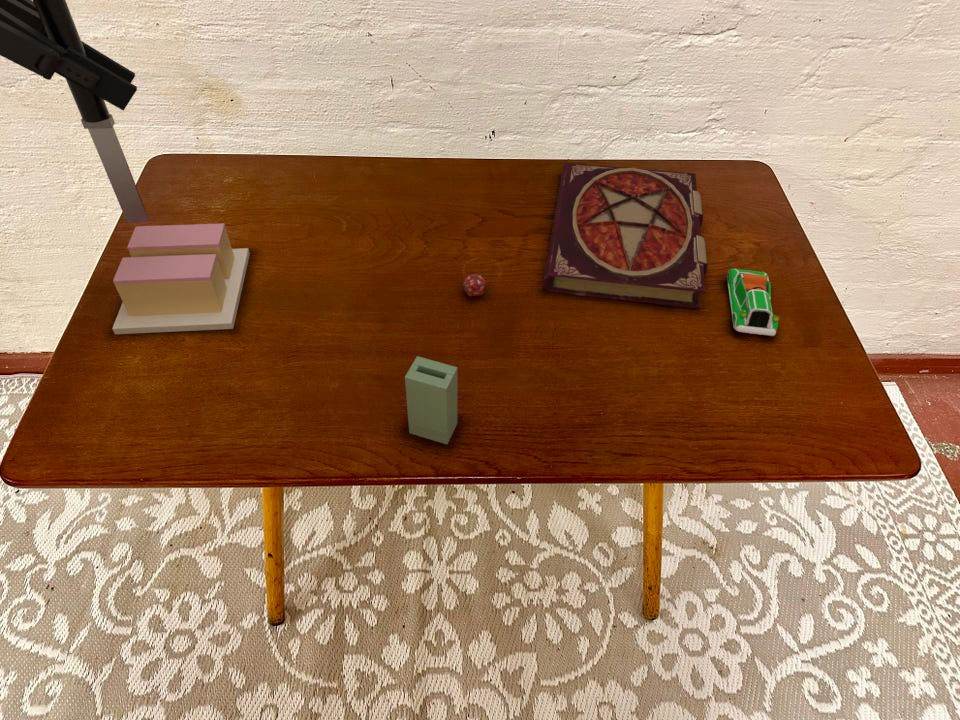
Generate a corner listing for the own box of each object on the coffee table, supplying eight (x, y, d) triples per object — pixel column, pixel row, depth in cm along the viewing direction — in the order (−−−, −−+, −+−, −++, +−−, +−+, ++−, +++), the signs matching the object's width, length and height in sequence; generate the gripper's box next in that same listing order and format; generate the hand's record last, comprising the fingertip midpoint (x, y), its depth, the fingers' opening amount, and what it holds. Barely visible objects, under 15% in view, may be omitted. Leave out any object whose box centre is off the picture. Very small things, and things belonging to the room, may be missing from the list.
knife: (148, 227, 79) (52, -16, 61) (123, 228, 79) (19, -15, 60) (153, 215, 81) (61, -26, 62) (128, 215, 81) (29, -25, 62)
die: (489, 297, 89) (490, 279, 87) (468, 303, 88) (469, 286, 86) (479, 283, 91) (479, 266, 89) (458, 290, 90) (458, 272, 88)
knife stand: (447, 444, 72) (446, 389, 66) (409, 433, 73) (404, 377, 67) (457, 423, 74) (457, 367, 68) (420, 412, 75) (417, 355, 69)
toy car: (774, 343, 84) (786, 317, 81) (731, 338, 85) (742, 312, 82) (762, 282, 92) (772, 256, 89) (723, 277, 93) (732, 252, 90)
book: (561, 180, 110) (564, 152, 106) (695, 192, 107) (703, 163, 104) (542, 294, 91) (544, 264, 87) (705, 312, 88) (714, 282, 84)
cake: (233, 329, 84) (219, 287, 79) (114, 334, 83) (93, 293, 78) (250, 253, 94) (238, 213, 89) (144, 257, 93) (127, 217, 88)
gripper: (-166, -69, 60) (108, 88, 76) (-213, -10, 50) (113, 156, 67) (-133, -147, 57) (143, 33, 74) (-175, -100, 48) (153, 95, 64)
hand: (128, 91), depth 70 cm, fingers closed on knife, 3 cm apart
